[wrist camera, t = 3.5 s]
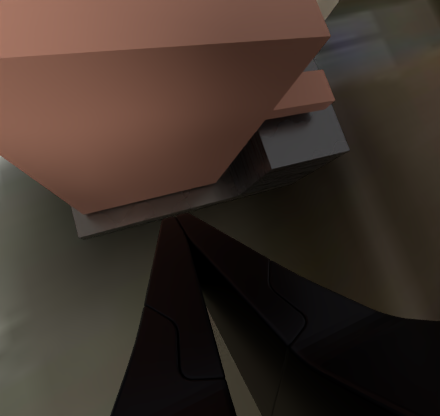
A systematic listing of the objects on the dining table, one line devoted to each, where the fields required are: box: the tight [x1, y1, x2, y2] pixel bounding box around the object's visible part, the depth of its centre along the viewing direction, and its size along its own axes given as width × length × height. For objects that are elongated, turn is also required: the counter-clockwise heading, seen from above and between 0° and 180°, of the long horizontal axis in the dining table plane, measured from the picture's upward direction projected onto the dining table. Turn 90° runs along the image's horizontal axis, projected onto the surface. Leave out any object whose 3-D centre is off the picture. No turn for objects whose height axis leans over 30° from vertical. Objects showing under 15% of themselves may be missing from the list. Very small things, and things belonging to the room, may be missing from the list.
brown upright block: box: [0, 0, 335, 215], centre depth 10 cm, size 4×12×10 cm, turn 108°
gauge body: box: [71, 59, 350, 239], centre depth 14 cm, size 12×13×6 cm
